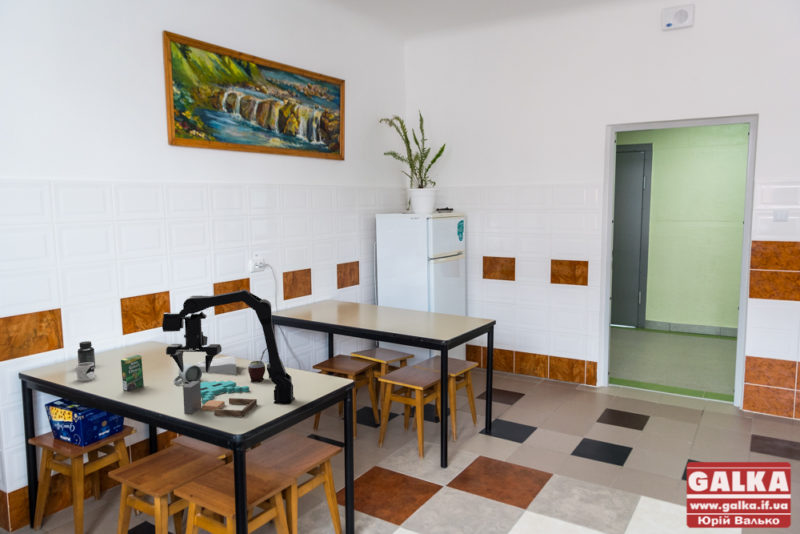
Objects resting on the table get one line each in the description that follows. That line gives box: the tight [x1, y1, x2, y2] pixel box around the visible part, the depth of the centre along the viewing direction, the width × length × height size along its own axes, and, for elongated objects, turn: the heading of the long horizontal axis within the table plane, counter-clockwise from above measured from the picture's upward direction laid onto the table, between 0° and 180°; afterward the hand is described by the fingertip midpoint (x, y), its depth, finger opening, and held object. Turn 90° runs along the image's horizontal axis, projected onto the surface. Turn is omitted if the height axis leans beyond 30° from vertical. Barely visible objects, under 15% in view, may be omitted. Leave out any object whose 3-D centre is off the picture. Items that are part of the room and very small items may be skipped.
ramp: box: [195, 355, 238, 376], centre depth 267 cm, size 28×16×5 cm, turn 57°
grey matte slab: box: [182, 380, 202, 415], centre depth 215 cm, size 3×7×10 cm, turn 171°
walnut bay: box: [213, 397, 258, 418], centre depth 216 cm, size 11×13×2 cm
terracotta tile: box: [201, 399, 226, 412], centre depth 219 cm, size 6×6×2 cm
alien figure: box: [200, 380, 250, 405], centre depth 236 cm, size 20×2×20 cm
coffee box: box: [120, 354, 145, 392], centre depth 241 cm, size 8×3×13 cm, turn 150°
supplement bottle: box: [77, 340, 96, 368], centre depth 270 cm, size 7×7×12 cm
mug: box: [76, 362, 96, 383], centre depth 255 cm, size 10×7×7 cm, turn 0°
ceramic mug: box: [173, 363, 203, 386], centre depth 249 cm, size 11×8×8 cm
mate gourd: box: [247, 347, 268, 384], centre depth 250 cm, size 8×8×15 cm
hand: (194, 372), depth 217 cm, fingers open, 9 cm apart
